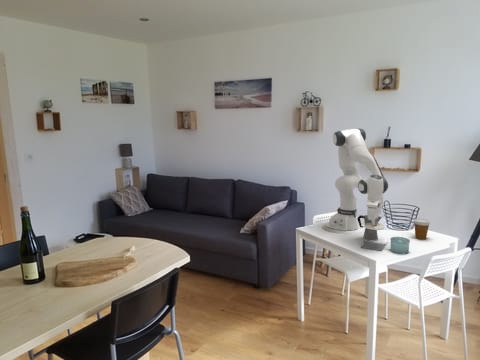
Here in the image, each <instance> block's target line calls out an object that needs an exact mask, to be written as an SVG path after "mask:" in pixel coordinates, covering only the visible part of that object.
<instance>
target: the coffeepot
mask: <svg viewBox="0 0 480 360" xmlns="http://www.w3.org/2000/svg"><path fill="white" fill-rule="evenodd" d="M361 219H363V220H364V221H363V222H364V225H365V224H367V223H372V221H371V220H368V216H367V214H365V215H363V214H362V215H358V216H357V217H356V221H357V223H358V225H359V227H360V228H365V227H364V225H362V223H361V221H362V220H361ZM381 219H383V216H380V215H379V216H378V219H377V223H379V222H380V220H381ZM378 238H379V237H378V230H371V229H367V228H365V229H364V231H363V239H364V240H365V241H370V240H375V241H377V240H378Z"/></svg>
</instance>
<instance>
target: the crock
mask: <svg viewBox="0 0 480 360" xmlns="http://www.w3.org/2000/svg"><path fill="white" fill-rule="evenodd" d="M410 242H411V239H408V238H407V237H403V236H392V237H390V249H389V250H390V251H391V252H392V253H395V254H398V255H407V254H409V252H410Z"/></svg>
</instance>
